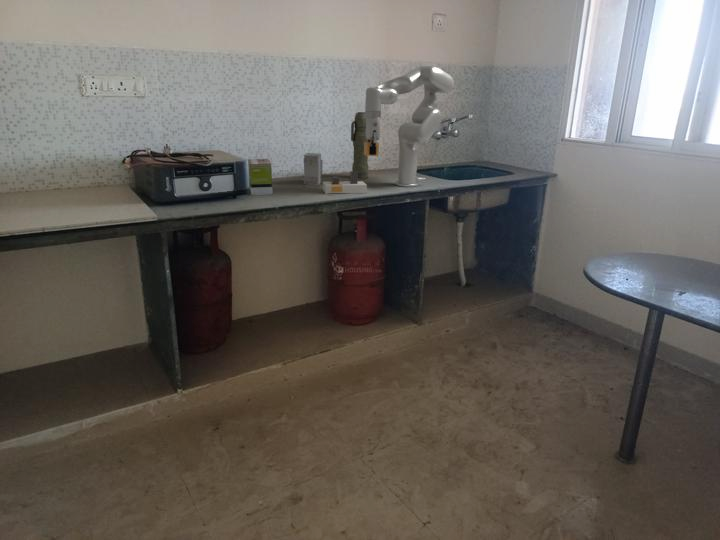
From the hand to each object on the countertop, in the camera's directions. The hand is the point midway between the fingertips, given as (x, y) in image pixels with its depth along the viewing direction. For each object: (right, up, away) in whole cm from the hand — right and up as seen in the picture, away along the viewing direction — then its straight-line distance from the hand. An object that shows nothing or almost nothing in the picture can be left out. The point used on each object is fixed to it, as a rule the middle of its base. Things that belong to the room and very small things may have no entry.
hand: (371, 153), depth 255 cm
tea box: (-53, -20, -5) cm, 56 cm away
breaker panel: (-13, -18, +1) cm, 22 cm away
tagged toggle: (-17, -19, 0) cm, 25 cm away
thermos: (-5, -5, +40) cm, 41 cm away
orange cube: (0, -1, 0) cm, 1 cm away
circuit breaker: (-30, -11, +22) cm, 38 cm away
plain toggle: (-9, -16, +1) cm, 18 cm away
